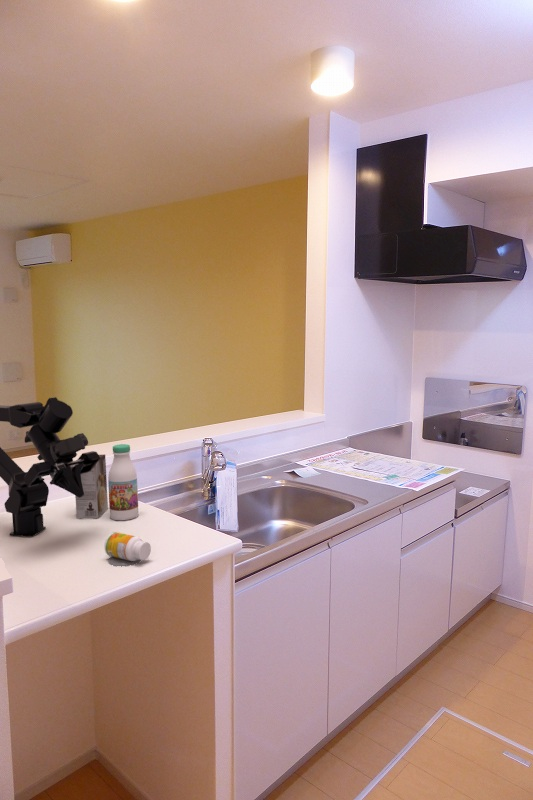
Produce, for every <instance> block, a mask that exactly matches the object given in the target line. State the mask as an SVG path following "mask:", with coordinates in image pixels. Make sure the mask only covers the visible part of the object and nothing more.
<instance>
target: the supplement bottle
mask: <svg viewBox="0 0 533 800" xmlns="http://www.w3.org/2000/svg"><path fill="white" fill-rule="evenodd" d="M103 548H104V552H105V553H106V555H108V556H109V557H116V558H120V559H125V560H129V561H136V560H138V559H139V560H142V561H146V560H147V559H148V558H149V557H150V554H151V552H152V547H151V543H150V542H148V541H144V540H143V538H141V537H140V536H135V535H130V534H128V533H127V534H126V533H121V532H118V531H117V532H116V531H115V532H112V533H110V534H109V535H108V536H107V538H106V539H105V541H104V547H103Z"/></svg>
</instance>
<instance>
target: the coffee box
mask: <svg viewBox="0 0 533 800" xmlns="http://www.w3.org/2000/svg"><path fill="white" fill-rule="evenodd" d="M98 455H99V456H100V458H101V459H100V460H99V461H98V462H97V464H96V465H95V466H94V467H93V469H92V470H91V471H89V472H88V473H84V474H81V481H82V486H83V491H84V496H83V497H80V498H79V497H77V496H75V495H74V496H75V513H76V519H77V518H93V519H99V518H100V517H102V516H103V514H104V513H106V512H107V510H108V509H109V497H108V481H107V466H106V465H107V462H106V454H98ZM76 460H78V458H77V459H76Z"/></svg>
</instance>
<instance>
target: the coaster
mask: <svg viewBox="0 0 533 800" xmlns="http://www.w3.org/2000/svg"><path fill="white" fill-rule="evenodd" d="M140 561H141V560H139V559H138V560H136V561H129V560H125V559H120V558H116V557H112V556H110V558H108V560H107V562H108V563H107V564H109V565H110V566H112V565H113V567H117V566H121V567H122V566H125V567H129V566H130V565H131V566H134V564H135V565H136V563H137V564H139V563H141V562H142V561H141V562H140ZM121 567H120V568H121Z"/></svg>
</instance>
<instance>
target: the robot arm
mask: <svg viewBox="0 0 533 800" xmlns="http://www.w3.org/2000/svg"><path fill="white" fill-rule="evenodd" d="M73 413H74V412H73V409H72V407H71V405H69V404H67V403H66V402H64V401H62V400H59V399H58V398H57V397H56V396H54V397H48V399H47V401H46V404H45V405H44V404H43V403H42V402H40V401H37V402H36V401H34V402H29V403H21V404H19V403H18V404H14V405H0V422H5V423H6V422H7V423H9V424H10V425H11V426H13V427H16V428H19V429H21V428H29V427H30V429H29V430H28V431H27V430H26V431H25V437H24V443H26V444H27V443H32V444H33V445H34V447H35V449H36V451H37V452H38V455H37V457H36V458H37V459H38V460H39V461H41V462H36V463H33V464H31V466H30V468H29V469H28V471H24V470H23V469H22V468H21V467H20V466H19V465H18V464H17V463H16V462H15V461H14V460H13V458H12V457H10V456H9V455H8V454H7V452H5V450H4V449H3V448H2V447H1V446H0V478H1V479H2V480H3V482H4V483H5V484H7V486H8V498H7V499H6V500H5V502H4V508H5V512H7V513H10V514H12V517H11V518H12V530H13V531H11V532H9V536H13V537H28V538H32V537H34V536H36V535H37V534H40V533H41V532H43V531H45V530H46V529H47V527H46V526H44V514H43V513H42V507H46V506H47V503H48V499H49V493H50V490H49V485H54V486H56V487H59V488H61V489H63V490H65V491H66V492H68V493H70V494H72V495H73V496H77V497H79V498H80V497H83V496H84V491H83V486H82V481H81V474H84V473H88V472H89V471H91V470H92V469H93V467H94V466H95V465H96V464H97V462H98V461H99V460H100V459H101V458H100V456H99V455H100V454H99V453H98V452H97V451H93V450H92V451H88V452H83V453H81V455H80V456H79V457H78V458H77V459H78V460H77V459H76V460H74V458H76V457H77V456H78V453H77V452H80V451H82V450H85V449H86V446H88V445H89V441H88V438H87V436H86V435H85V434H84V433H83V432H81V433H77V434H75V435H73V436H72V437H69V438H65V439H60V438H59V436H58V433H61V431H62V430H63V429H64V428H65V426H66V425H67V423H68V422H69V421H70V419H71V417H72V416H73ZM46 476H47V477H48V476H50V481H49V485H47V483H46V482H45V478H43V477H46Z"/></svg>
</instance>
